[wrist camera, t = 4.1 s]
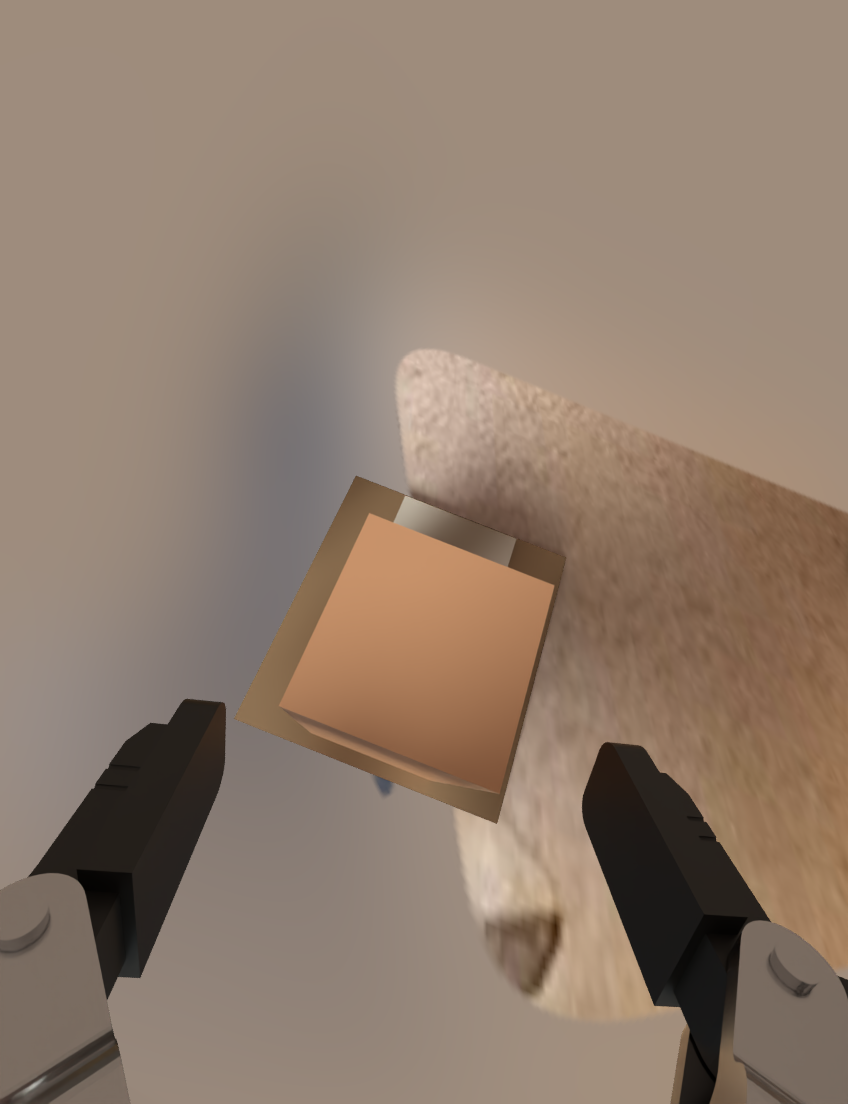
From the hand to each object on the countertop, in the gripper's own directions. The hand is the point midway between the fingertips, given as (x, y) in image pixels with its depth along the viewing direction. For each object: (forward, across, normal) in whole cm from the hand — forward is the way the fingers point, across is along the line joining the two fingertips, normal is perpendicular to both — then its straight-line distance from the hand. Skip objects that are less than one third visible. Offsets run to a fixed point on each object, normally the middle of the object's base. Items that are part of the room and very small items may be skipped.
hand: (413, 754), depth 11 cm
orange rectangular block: (+7, 0, +4) cm, 8 cm away
